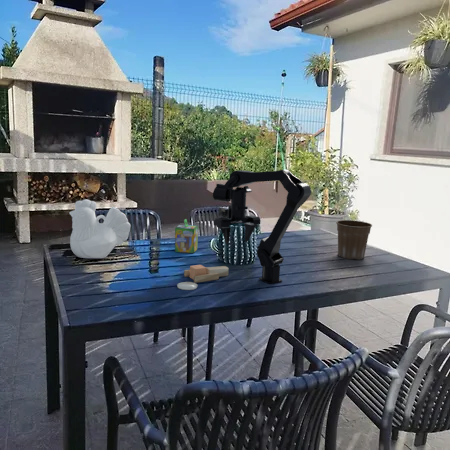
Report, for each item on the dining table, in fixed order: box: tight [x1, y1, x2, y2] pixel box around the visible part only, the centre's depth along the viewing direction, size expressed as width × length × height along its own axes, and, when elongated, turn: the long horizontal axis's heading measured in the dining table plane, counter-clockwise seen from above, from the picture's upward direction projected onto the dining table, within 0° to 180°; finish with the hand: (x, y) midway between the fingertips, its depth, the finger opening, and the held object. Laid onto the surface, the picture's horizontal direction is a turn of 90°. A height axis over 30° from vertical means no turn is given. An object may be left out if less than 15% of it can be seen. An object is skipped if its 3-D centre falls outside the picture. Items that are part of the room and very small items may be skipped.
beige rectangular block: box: [206, 265, 229, 278], centre depth 164 cm, size 3×8×3 cm, turn 115°
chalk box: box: [174, 218, 199, 254], centre depth 198 cm, size 9×9×15 cm
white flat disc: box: [176, 281, 198, 291], centre depth 149 cm, size 7×7×1 cm
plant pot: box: [336, 219, 373, 260], centre depth 201 cm, size 16×16×16 cm
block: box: [189, 264, 206, 281], centre depth 159 cm, size 4×4×4 cm
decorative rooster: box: [69, 198, 132, 259], centre depth 179 cm, size 25×16×25 cm, turn 109°
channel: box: [183, 267, 220, 284], centre depth 160 cm, size 9×10×2 cm
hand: (236, 242), depth 166 cm, fingers open, 9 cm apart
